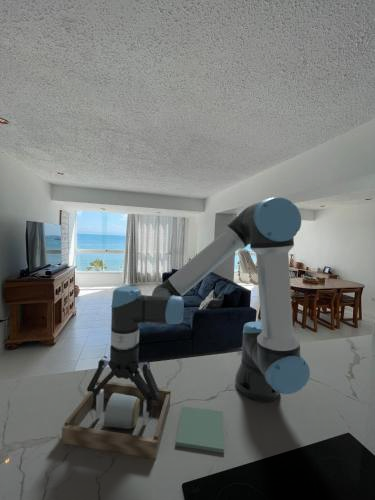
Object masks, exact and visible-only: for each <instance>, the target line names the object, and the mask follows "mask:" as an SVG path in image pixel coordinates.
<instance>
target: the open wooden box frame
mask: <svg viewBox="0 0 375 500" xmlns="http://www.w3.org/2000/svg"><path fill="white" fill-rule="evenodd" d="M101 382H102V380H99V379H98V381H97V383H96V385H99V384H100V383H101ZM102 389H104V399H106V400H109V399H110V397H111V395H112V394H113V393H118V394H123V395H129V396H135V397H137V398H139V399H140V405H141V404H144V400H145V398H144V396H143V395H142V393H141V392H140V391H139V389H138V388H137V386H136V385H135V384H129V383H122V382H117V381H116V382H113V381H108V382H107V383H106V385H105V386H104V387H103V388H102ZM158 389H159V396H158V398H157V400H152V406H157V407H162V408H161V411H160V415H159V418H158V421H157V424H156V428H155V431H154V433H153V437H148V436H142V435H136V434H129V433H122V432H116V431H111V430H104V429H97V428H90V427H84V426H80V424H81V423H82V422H83V421H84V419H85V418H86V416H87V415H88V413H90V412H91V409H92V408H93V406H94V405H95V404H94V394H93V392H92V391H90V392H88V393H87V394H86V396H85V397H84V398H83V400H82V401H81V402H80V403H79V404H78V406H77V407H76V408H75V409H74V410H73V412H71V414H70V415H69V417H67V419H66V420H65V422H64V424H63V426H62V427H61V444H63V445H70V446H76V447H77V446H78V447H82V448H88V449H96V450H100V451H107V452H112V453H113V452H114V453H117V454H118V453H119V454H124V455H129V456H130V455H132V456H138V457H142V458H143V457H144V458H150V459H157V456H158V452H159V449H160V445H161V441H162V437H163V434H164V429H165V427H166V422H167V419H168V413H169V410H170V407H171V392H172V389H171V388H169V389H168V388H162V387H158Z"/></svg>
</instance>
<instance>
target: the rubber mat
mask: <svg viewBox="0 0 375 500" xmlns="http://www.w3.org/2000/svg"><path fill="white" fill-rule="evenodd" d="M223 422H224V421H223V411H222V410H221V411H220V410H215V409H214V410H213V409H207V408H200V407H192V406H185V405H184V406H183V405H182V407H181V411H180V417H179V423H178V427H177V428H178V429H177V434H176V440H175V447H180V448H181V447H182V448H188V449H196V450H199V451H200V450H202V451H207V452H213V453H220V454H225V441H224V425H223V424H224V423H223Z"/></svg>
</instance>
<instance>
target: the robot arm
mask: <svg viewBox="0 0 375 500" xmlns="http://www.w3.org/2000/svg"><path fill="white" fill-rule="evenodd" d="M301 226H302V215H301V212H300V210H299V208H298V207H297V205H296V204H295V203H293V202H292V201H291V200H289V199H288V198H284V197H280V196H277V197H269V198H265V199H262V200H261V201H260V202H256V203H253V204H251V205H249V206H247V207H245V208H244V210H243V209H242V211H241V212H239V214H238V215H236V217H235V218H234V219H233V220H231V222H229V224H227V225H226V226H225V227H224V232H222V233H221V234H220V235H219V236H217V237H216V238H215V239H214V240H212V241H211V242H210V243H209V244H208V245H206V247H204V248H203V249H202V250H201V251H200V252H198V253H197V254H196V255H195V256H194V257H192V258H191V259H190V260H188V262H187V263H185V264H183V266H182V267H180V268H179V269H178V270H177V271H175V273H173V274H172V275H171V276H170V277H169V278H167V279H166V280H165V281H163V283H160V284H158V285H156V286H155V288H154V289H153V291H152V294H151V295H146V294H142V291H141V288H140V287H137V286H130V285H129V286H119V287H116V288H115V289H114V290H113V292H112V299H111V305H110V307H111V321H110V322H111V324H110V326H111V327H110V346H109V347H110V348H109V349H110V350H109V351H110V352H109V358H108V357H107V356H106V355H103V357H102V358H100V360H99V361H98V365H97V368H96V370H95V373H94V375H93V377H91V378H92V379H91V380H90V381H89V384H88V385H87V388H86V391H87V392H88V393H89V392H90V391H92V392H93V394H94V405H95V419H99V418H100V417H101V415H102V413H103V412H104V389H102V388H103V387H104V386H105V385H106V383H107V382H110V381H111V379H113V378H114V377H116V378H117V379H125V380H130V382H131V383H133V385H136V386H137V388H138V389H139V391H140V392H141V393H142V395H143V396H144V398H145V400H144V404H143V409H142V426H146V424H147V423H148V419H149V413H150V412H151V411H152V409H153V405H152V400H157V398H158V396H159V389H158V388H159V387H158V385H157V382H156V380H155V378H154V375H153V373H152V370H151V368H150V367H151V365H150V364H151V363H150V361H149V360H145V362H140V360H139V346H140V343H139V342H140V324H153V325H155V324H158V325H159V324H160V325H165V324H166V325H174V324H175V325H176V324H177V325H178V324H180V323H182V322H183V320H184V313H185V312H184V311H185V309H184V307H185V306H184V305H185V304H184V298H183V296H184V295H185V294H187V293H188V292H189V291H190V290H191V289H192V288H194V287H195V286H196V285H197V284H198V283H200V282H201V281H202V280H203V279H204V278H206V277H207V276H208V275H209V274H210V273H211V272H213V271H214V270H215V269H217V268H218V267H219V266H220V265H221V264H222V263H224V262H225V261H227V259H228V258H230V256H232V255H233V254H234V253H236V252H237V251H238V250H239V249H240V250H241V249H242V250H244V249H245V248H246V247H247V246H248V245H250V249H251V251H253V252H254V253H255V255H256V256H255V257H256V268H257V284H258V295H259V296H258V297H259V310H260V311H259V312H260V321H249V322H246V323H244V325H243V328H242V329H243V330H242V345H241V362H240V365H239V366H238V369H237V371H236V374H235V380H234V381H235V382H234V384H235V387H236V389H237V391H239V392H240V393H241V394H242V395H243V396H244V397H247V398H248V399H250V400H253V401H255V402H256V401H257V402H260V403H261V402H263V403H265V402H266V403H268V402H273V401H275V400H276V399H278V397H280V395H292V394H295V393H298V392H299V391H301V390H302V389H303V388H304V387H305V386H306V385H307V384H308V383H309V380H310V376H311V369H310V365H309V364H308V363H307V360H306V359H304V358H303V357H302V354H301V344H300V343H301V342H300V340H299V338H298V337H297V336H296V335H295V334H294V322H293V306H292V292H291V276H290V275H291V273H290V259H289V252H290V251H291V250H292V249H293V248H294V246H295V239H294V237H295V236H296V235H297V234H298V233H299V231H300V230H301ZM107 366H108V367H109V368H110V370H111V371H109V373H108V374H107V375H105V377H104V378H103V379H102V380H101V381H102V382H101V383H100V384H99V385H96V383H97V381H98V380H99V379H100V378H101V375H102V373H103V372H104V370H105V368H106V367H107ZM139 369H140V370H139ZM140 373H142V375H143V377H142V375H141V374H140ZM143 378H144V379H143Z"/></svg>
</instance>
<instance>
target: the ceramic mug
mask: <svg viewBox="0 0 375 500" xmlns="http://www.w3.org/2000/svg"><path fill="white" fill-rule="evenodd" d="M140 409H141V403H140V399H139V398H137V397H135V396H129V395H123V394H118V393H113V394H112V395H111V397H110V399H108V401H107V404H106V408H105V411H104V417H103V418H104V419H103V424H104V427H106V428H115V429H126V430H129V429H134V428H135V427H136V426H137V422H138V418H139V415H140Z"/></svg>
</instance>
